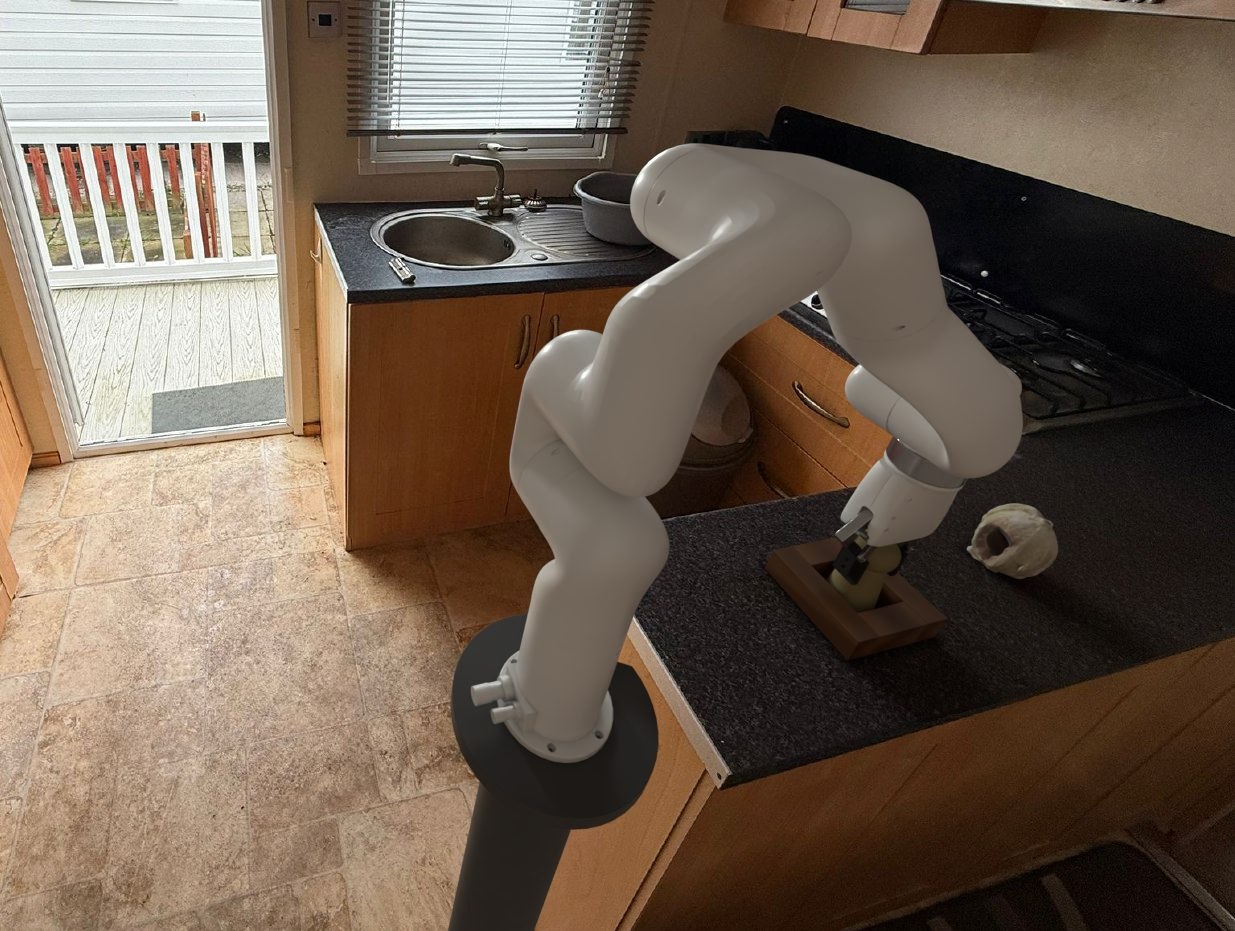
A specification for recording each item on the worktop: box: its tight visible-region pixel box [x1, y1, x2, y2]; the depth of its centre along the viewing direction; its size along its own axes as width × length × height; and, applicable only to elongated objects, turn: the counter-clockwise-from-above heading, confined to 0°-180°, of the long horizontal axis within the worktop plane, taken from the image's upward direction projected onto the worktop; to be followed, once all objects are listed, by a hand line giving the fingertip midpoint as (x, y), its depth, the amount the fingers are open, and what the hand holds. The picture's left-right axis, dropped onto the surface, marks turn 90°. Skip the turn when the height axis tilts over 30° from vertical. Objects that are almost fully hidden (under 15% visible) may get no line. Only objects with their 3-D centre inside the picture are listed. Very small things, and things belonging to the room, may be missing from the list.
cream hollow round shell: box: [966, 503, 1059, 580], centre depth 90 cm, size 9×8×10 cm
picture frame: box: [764, 537, 948, 662], centre depth 84 cm, size 14×14×4 cm
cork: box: [825, 528, 901, 613], centre depth 82 cm, size 6×6×11 cm
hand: (863, 570), depth 82 cm, fingers closed on cork, 5 cm apart
